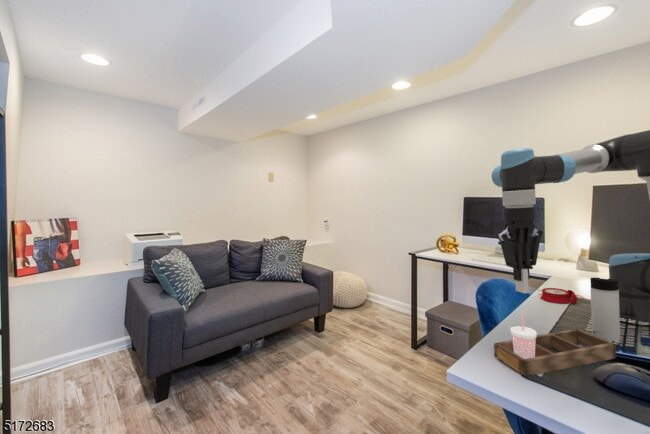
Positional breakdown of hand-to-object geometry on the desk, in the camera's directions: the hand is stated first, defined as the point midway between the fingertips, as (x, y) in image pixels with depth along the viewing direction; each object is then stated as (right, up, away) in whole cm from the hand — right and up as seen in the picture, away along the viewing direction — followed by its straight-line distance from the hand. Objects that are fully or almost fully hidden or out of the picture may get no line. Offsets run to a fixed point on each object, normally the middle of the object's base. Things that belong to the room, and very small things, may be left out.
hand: (522, 291), depth 80 cm
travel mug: (+32, -18, +9) cm, 38 cm away
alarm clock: (+47, -16, +45) cm, 67 cm away
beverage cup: (+1, -20, +1) cm, 20 cm away
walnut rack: (+11, -19, +3) cm, 22 cm away
